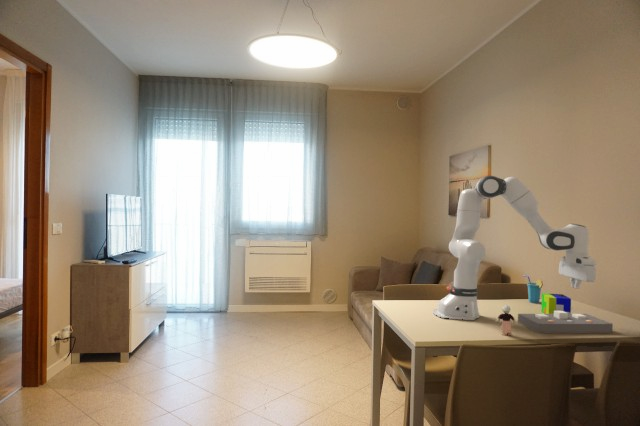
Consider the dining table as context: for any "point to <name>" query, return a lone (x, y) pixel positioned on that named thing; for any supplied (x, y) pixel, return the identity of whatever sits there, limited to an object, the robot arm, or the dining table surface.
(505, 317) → the grandmother figurine
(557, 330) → the button board
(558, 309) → the puzzle toy
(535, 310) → the dining table surface
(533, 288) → the cup
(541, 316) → the button
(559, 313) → the button middle
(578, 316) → the button
